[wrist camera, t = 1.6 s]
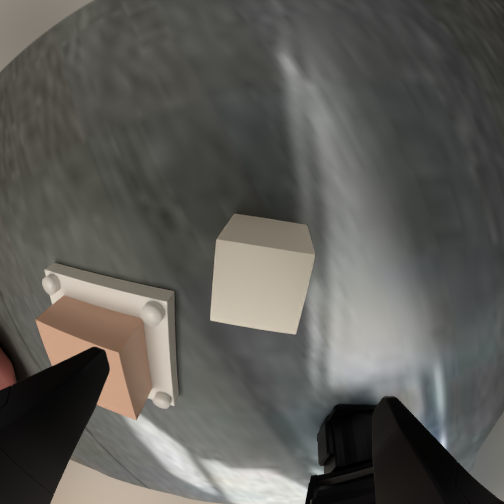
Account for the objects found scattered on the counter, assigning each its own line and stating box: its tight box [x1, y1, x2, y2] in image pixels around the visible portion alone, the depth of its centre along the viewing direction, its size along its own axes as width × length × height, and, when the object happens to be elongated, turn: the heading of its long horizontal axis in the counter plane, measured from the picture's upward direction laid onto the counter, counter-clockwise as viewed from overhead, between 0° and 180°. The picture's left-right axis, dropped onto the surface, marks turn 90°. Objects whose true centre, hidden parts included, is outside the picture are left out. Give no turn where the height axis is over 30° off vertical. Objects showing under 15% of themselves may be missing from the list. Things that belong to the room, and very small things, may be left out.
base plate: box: [35, 263, 179, 420], centre depth 20 cm, size 12×12×6 cm
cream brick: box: [210, 214, 315, 334], centre depth 16 cm, size 4×4×5 cm
